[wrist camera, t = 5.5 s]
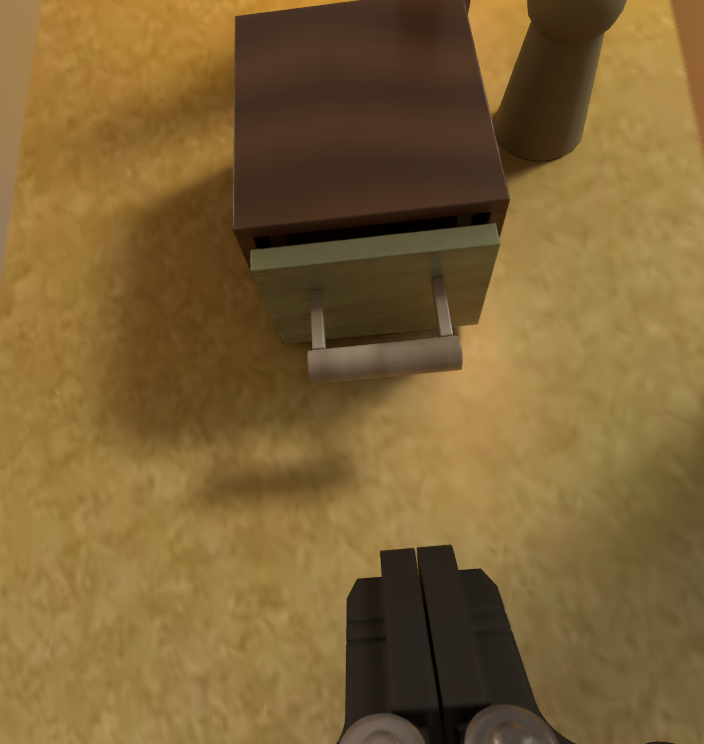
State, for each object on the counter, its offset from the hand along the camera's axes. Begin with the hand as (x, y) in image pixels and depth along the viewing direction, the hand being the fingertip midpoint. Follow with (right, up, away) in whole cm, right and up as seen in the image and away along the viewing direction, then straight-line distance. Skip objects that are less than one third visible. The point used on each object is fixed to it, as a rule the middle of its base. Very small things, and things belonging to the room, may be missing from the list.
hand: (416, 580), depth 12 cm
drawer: (0, +11, +22) cm, 25 cm away
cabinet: (0, +14, +25) cm, 29 cm away
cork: (+12, +21, +27) cm, 36 cm away
